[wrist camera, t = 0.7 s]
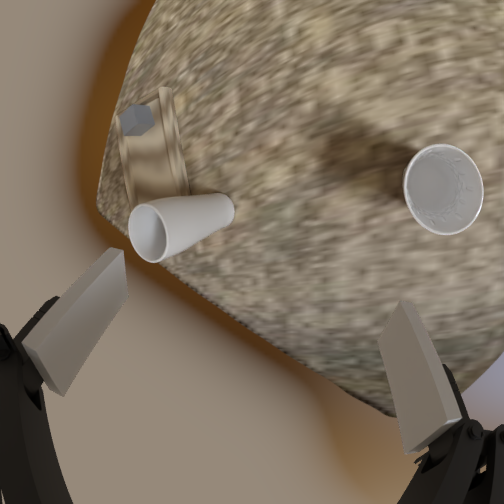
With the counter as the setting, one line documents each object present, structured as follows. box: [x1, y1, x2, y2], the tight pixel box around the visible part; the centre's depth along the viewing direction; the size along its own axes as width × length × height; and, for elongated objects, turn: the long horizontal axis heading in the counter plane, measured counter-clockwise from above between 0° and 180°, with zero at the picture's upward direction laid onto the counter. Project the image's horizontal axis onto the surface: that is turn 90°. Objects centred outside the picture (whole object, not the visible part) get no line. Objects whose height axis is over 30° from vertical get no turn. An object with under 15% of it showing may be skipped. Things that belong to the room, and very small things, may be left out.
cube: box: [119, 104, 155, 136], centre depth 40 cm, size 4×4×4 cm
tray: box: [115, 86, 191, 212], centre depth 43 cm, size 20×13×2 cm, turn 13°
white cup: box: [402, 144, 483, 235], centre depth 23 cm, size 8×8×10 cm
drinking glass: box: [128, 193, 235, 263], centre depth 35 cm, size 7×7×15 cm
